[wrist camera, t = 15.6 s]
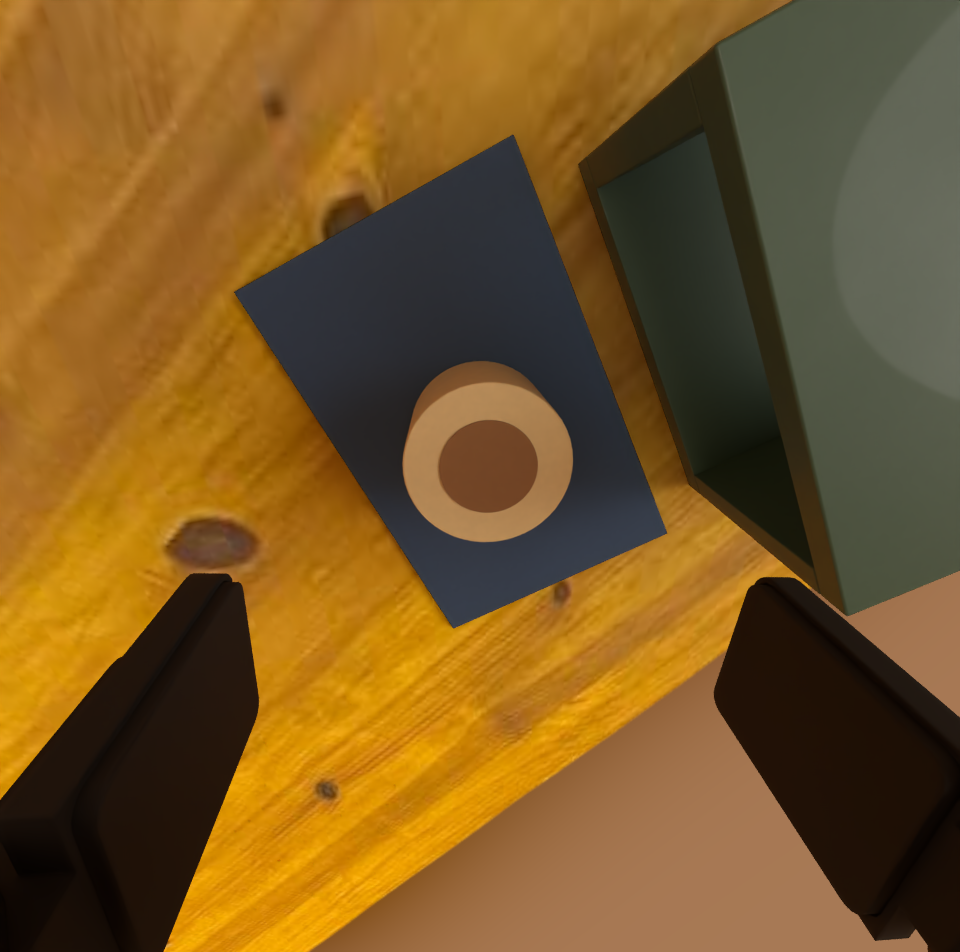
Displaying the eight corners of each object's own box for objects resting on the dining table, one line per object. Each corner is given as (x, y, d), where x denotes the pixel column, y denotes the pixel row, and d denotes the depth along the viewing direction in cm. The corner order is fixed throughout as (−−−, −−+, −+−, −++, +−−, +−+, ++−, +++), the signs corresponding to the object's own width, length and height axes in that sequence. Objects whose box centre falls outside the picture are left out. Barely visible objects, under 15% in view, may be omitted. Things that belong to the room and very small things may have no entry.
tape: (450, 513, 25) (452, 568, 20) (385, 400, 22) (368, 432, 18) (568, 457, 24) (598, 500, 19) (513, 335, 22) (532, 350, 17)
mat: (453, 625, 28) (453, 628, 28) (236, 291, 21) (233, 292, 20) (665, 530, 26) (667, 533, 26) (512, 136, 19) (513, 134, 19)
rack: (689, 485, 25) (847, 618, 15) (577, 164, 20) (714, 43, 10) (916, 382, 24) (1250, 454, 14) (868, 4, 18) (1380, -331, 8)
